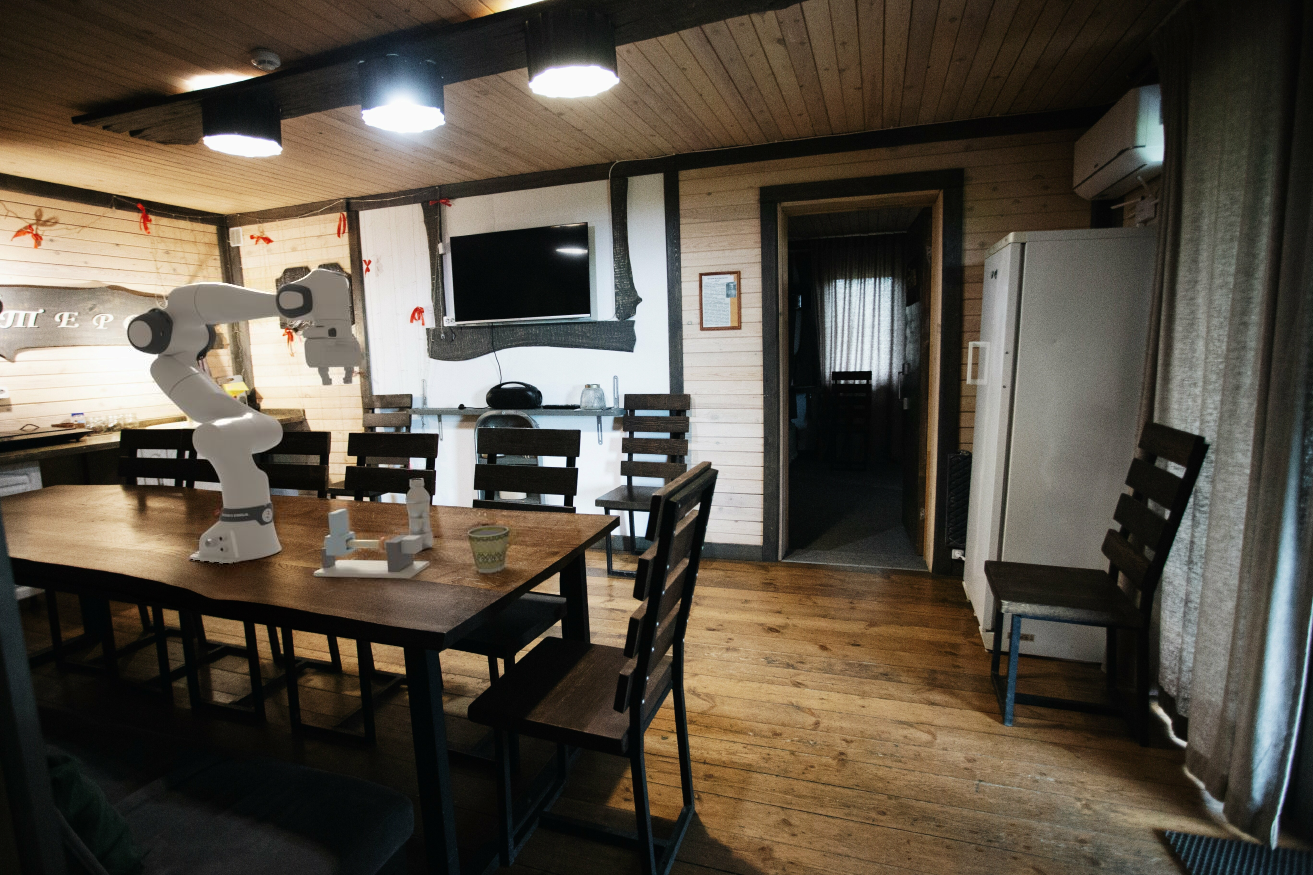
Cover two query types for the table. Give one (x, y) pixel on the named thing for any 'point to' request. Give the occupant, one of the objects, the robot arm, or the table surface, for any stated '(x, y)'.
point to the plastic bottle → (419, 512)
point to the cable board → (394, 567)
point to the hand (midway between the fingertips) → (337, 384)
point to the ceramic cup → (490, 547)
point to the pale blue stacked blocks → (338, 534)
